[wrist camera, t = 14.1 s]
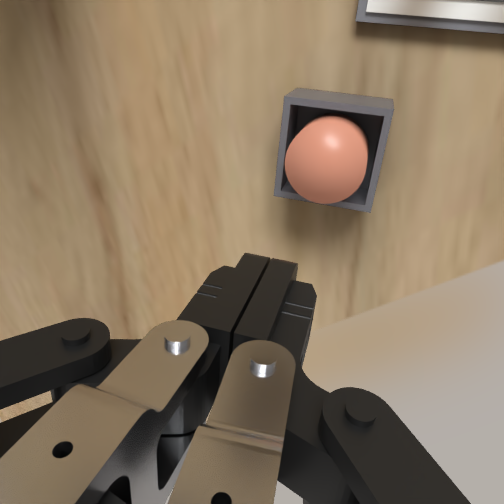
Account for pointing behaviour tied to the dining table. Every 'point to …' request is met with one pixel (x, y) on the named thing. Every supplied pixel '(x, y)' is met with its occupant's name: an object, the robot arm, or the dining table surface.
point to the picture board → (436, 14)
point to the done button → (327, 158)
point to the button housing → (354, 106)
